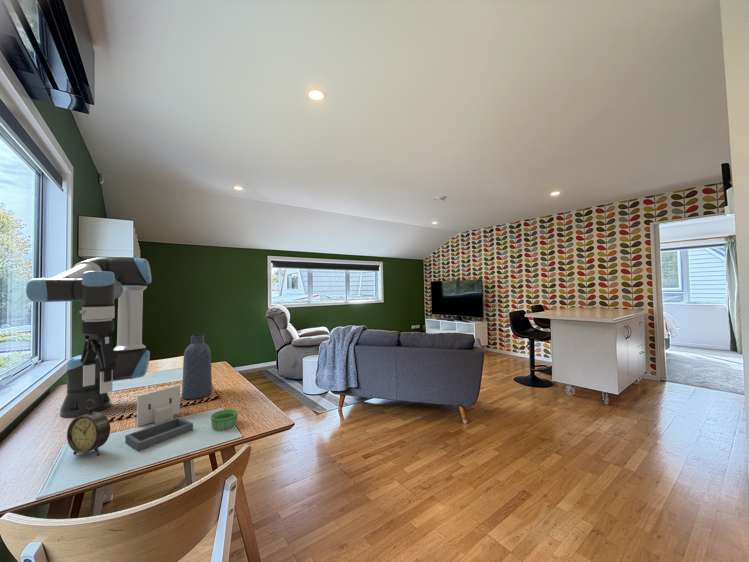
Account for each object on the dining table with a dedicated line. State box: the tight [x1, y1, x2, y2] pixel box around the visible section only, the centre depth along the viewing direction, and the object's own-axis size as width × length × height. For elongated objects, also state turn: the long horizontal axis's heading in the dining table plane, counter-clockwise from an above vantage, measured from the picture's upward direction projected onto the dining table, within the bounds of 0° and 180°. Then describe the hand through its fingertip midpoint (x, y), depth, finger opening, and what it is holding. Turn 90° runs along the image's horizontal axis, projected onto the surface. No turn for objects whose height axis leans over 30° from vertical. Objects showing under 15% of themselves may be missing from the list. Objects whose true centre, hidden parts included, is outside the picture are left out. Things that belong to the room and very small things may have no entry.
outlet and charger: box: [136, 384, 181, 427], centre depth 111 cm, size 12×14×11 cm
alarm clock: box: [66, 399, 111, 457], centre depth 91 cm, size 11×5×16 cm, turn 81°
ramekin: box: [210, 408, 239, 432], centre depth 108 cm, size 9×9×4 cm
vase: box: [181, 334, 213, 400], centre depth 140 cm, size 12×12×28 cm
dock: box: [124, 416, 194, 453], centre depth 100 cm, size 10×16×2 cm, turn 148°
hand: (97, 388), depth 92 cm, fingers open, 13 cm apart
